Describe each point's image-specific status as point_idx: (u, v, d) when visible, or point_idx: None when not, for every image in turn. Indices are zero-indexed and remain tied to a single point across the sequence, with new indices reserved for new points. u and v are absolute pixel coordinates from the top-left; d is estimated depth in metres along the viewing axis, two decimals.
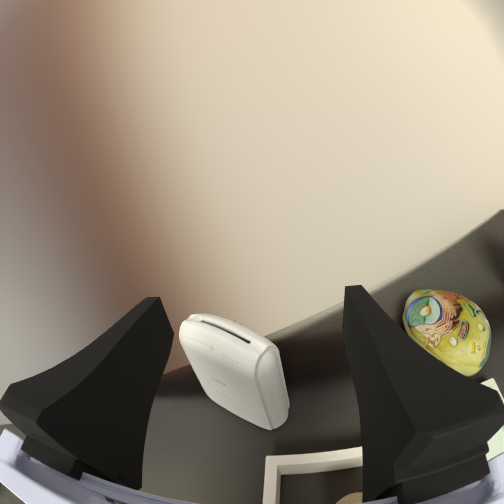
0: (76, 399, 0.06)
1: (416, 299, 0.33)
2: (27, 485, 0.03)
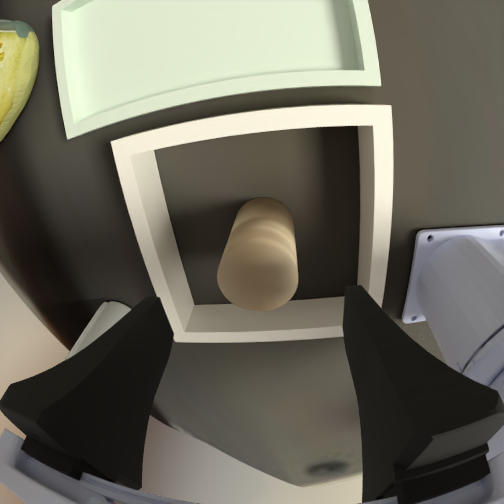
0: (76, 399, 0.06)
1: None
2: (27, 485, 0.03)
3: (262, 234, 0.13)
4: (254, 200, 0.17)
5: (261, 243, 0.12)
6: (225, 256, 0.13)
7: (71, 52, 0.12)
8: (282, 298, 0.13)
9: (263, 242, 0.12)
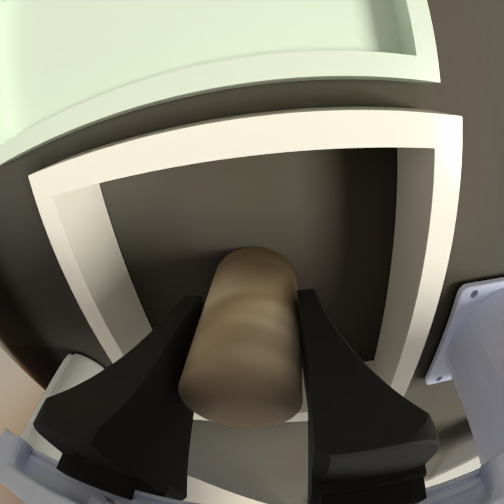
0: (130, 412, 0.05)
1: None
2: (27, 485, 0.03)
3: (246, 338, 0.08)
4: (240, 252, 0.12)
5: (243, 361, 0.07)
6: (186, 373, 0.07)
7: None
8: (277, 419, 0.08)
9: (247, 358, 0.07)
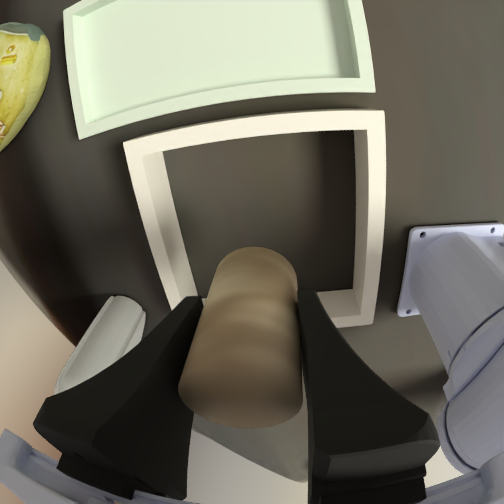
0: (130, 411, 0.05)
1: None
2: (27, 485, 0.03)
3: (246, 338, 0.08)
4: (240, 252, 0.12)
5: (243, 361, 0.07)
6: (186, 373, 0.07)
7: (82, 56, 0.13)
8: (277, 419, 0.08)
9: (247, 358, 0.07)
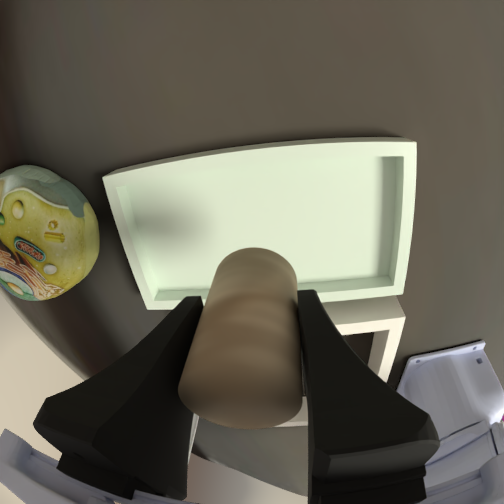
0: (130, 412, 0.05)
1: (2, 286, 0.18)
2: (27, 485, 0.03)
3: (245, 339, 0.08)
4: (240, 253, 0.12)
5: (243, 362, 0.07)
6: (186, 374, 0.07)
7: (136, 231, 0.18)
8: (277, 419, 0.08)
9: (246, 359, 0.07)
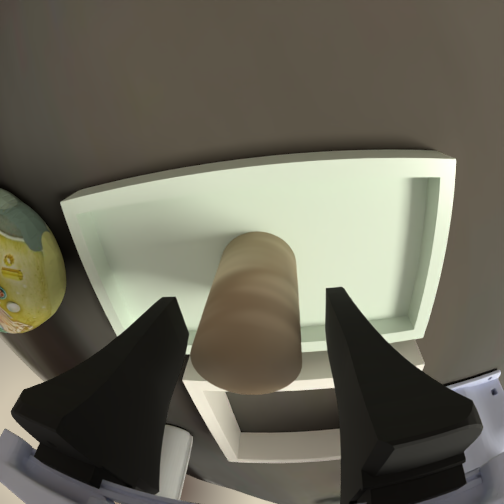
0: (96, 404, 0.06)
1: None
2: (27, 485, 0.03)
3: (252, 304, 0.09)
4: (244, 236, 0.13)
5: (249, 322, 0.08)
6: (199, 336, 0.09)
7: (105, 265, 0.15)
8: (279, 383, 0.09)
9: (253, 320, 0.08)
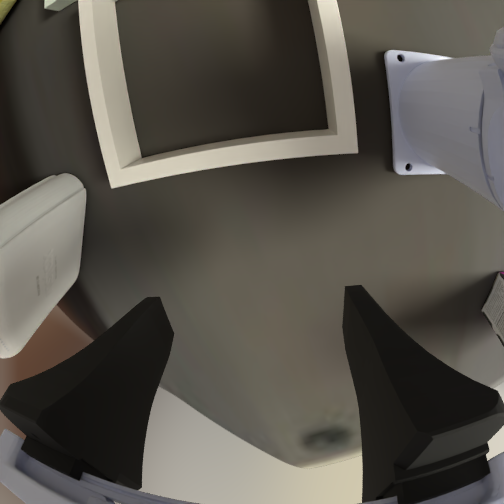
0: (76, 399, 0.06)
1: None
2: (27, 485, 0.03)
3: None
4: None
5: None
6: None
7: None
8: None
9: None
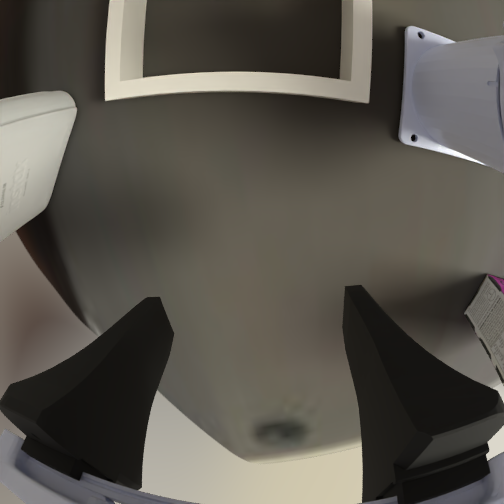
0: (76, 399, 0.06)
1: None
2: (27, 485, 0.03)
3: None
4: None
5: None
6: None
7: None
8: None
9: None
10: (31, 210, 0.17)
